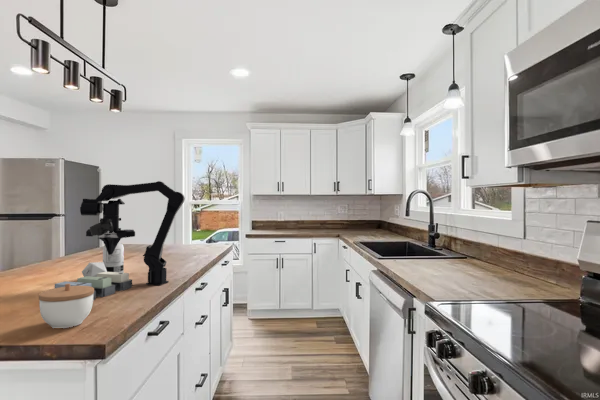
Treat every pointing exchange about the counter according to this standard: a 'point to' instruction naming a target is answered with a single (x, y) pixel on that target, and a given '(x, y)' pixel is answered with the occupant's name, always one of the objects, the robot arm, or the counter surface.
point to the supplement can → (114, 259)
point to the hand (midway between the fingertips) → (110, 254)
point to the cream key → (115, 276)
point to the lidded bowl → (66, 305)
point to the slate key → (71, 284)
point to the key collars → (112, 288)
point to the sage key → (96, 281)
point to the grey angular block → (94, 269)
